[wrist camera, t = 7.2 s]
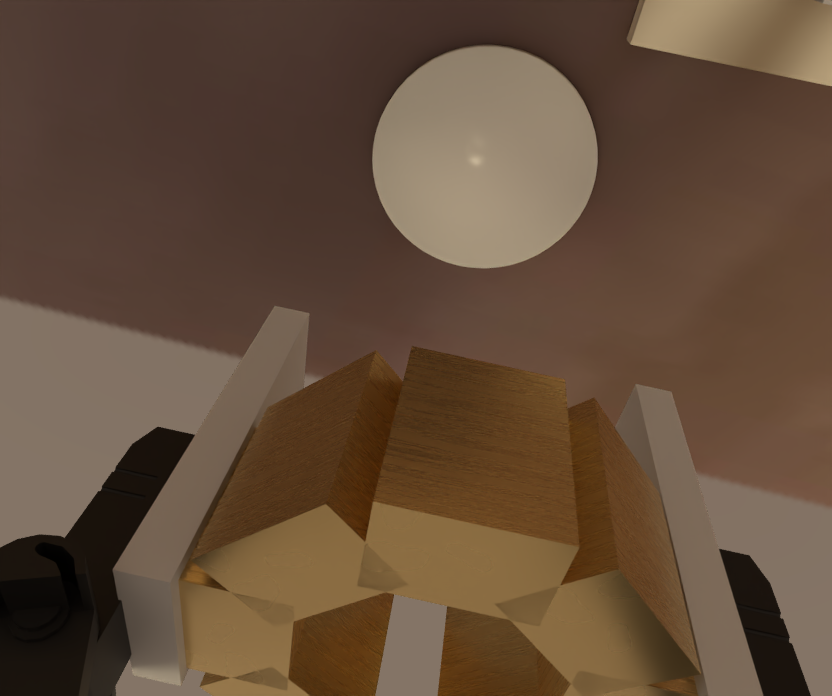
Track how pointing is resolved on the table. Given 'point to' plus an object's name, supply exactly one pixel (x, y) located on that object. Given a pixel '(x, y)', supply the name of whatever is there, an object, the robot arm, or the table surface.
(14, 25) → the table surface
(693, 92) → the table surface
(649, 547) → the c link
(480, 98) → the coaster
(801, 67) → the peg stand
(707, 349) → the table surface
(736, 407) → the table surface
